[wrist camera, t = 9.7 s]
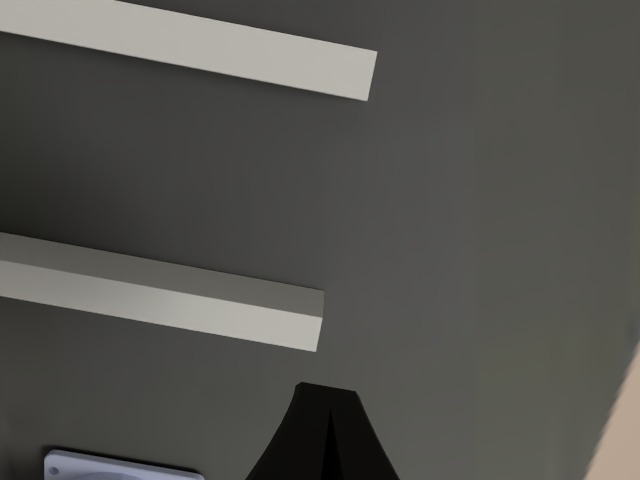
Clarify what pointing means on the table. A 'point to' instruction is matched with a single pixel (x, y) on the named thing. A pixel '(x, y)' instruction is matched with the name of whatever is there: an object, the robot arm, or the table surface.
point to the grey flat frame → (157, 276)
